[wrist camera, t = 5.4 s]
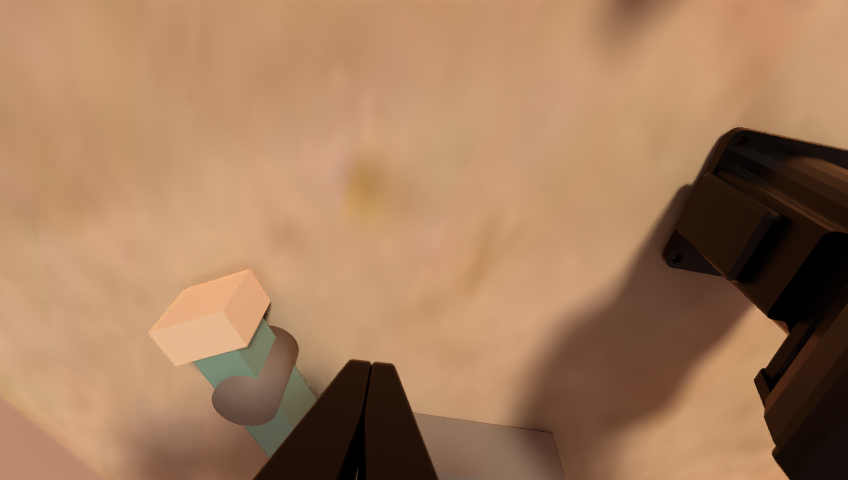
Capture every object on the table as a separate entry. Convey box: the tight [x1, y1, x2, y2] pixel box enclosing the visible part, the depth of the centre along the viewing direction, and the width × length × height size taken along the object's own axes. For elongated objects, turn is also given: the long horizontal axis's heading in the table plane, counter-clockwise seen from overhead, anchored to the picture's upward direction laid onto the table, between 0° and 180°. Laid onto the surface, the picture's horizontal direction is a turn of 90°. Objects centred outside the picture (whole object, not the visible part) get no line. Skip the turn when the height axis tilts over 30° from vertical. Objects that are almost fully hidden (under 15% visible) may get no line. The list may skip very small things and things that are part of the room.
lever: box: [148, 269, 358, 480], centre depth 24 cm, size 18×4×4 cm, turn 19°
